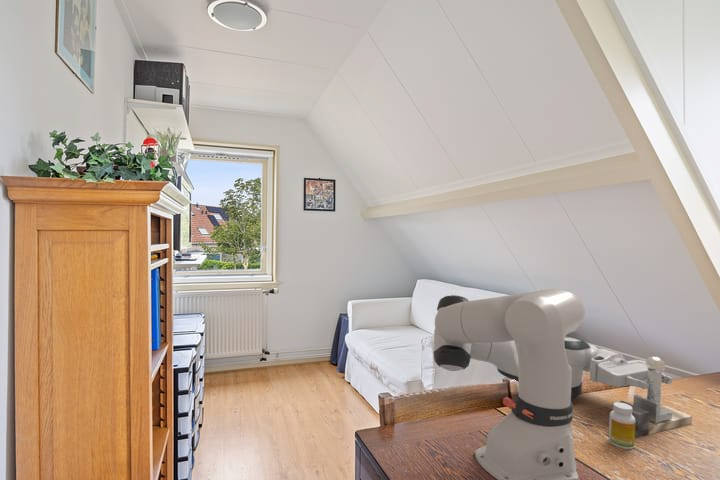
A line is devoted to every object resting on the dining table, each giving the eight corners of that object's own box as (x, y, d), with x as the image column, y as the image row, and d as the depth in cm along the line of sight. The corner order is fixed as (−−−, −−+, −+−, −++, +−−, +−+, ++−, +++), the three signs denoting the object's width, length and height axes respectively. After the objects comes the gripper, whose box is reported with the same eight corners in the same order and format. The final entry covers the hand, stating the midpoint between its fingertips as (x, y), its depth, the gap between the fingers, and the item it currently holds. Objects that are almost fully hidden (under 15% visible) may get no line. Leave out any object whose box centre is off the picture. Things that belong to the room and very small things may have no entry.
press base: (638, 437, 102) (639, 414, 102) (612, 424, 109) (612, 403, 108) (691, 423, 110) (692, 402, 110) (664, 411, 117) (665, 391, 116)
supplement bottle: (638, 451, 96) (640, 411, 96) (613, 448, 97) (615, 409, 97) (628, 439, 101) (629, 402, 101) (604, 436, 102) (606, 399, 102)
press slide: (655, 423, 105) (658, 361, 105) (633, 412, 111) (635, 354, 110) (671, 418, 108) (674, 359, 107) (648, 409, 113) (651, 352, 113)
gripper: (634, 371, 125) (683, 389, 112) (586, 380, 117) (632, 400, 104) (634, 352, 124) (684, 367, 111) (586, 359, 117) (633, 377, 104)
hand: (659, 383), depth 108 cm, fingers open, 8 cm apart
